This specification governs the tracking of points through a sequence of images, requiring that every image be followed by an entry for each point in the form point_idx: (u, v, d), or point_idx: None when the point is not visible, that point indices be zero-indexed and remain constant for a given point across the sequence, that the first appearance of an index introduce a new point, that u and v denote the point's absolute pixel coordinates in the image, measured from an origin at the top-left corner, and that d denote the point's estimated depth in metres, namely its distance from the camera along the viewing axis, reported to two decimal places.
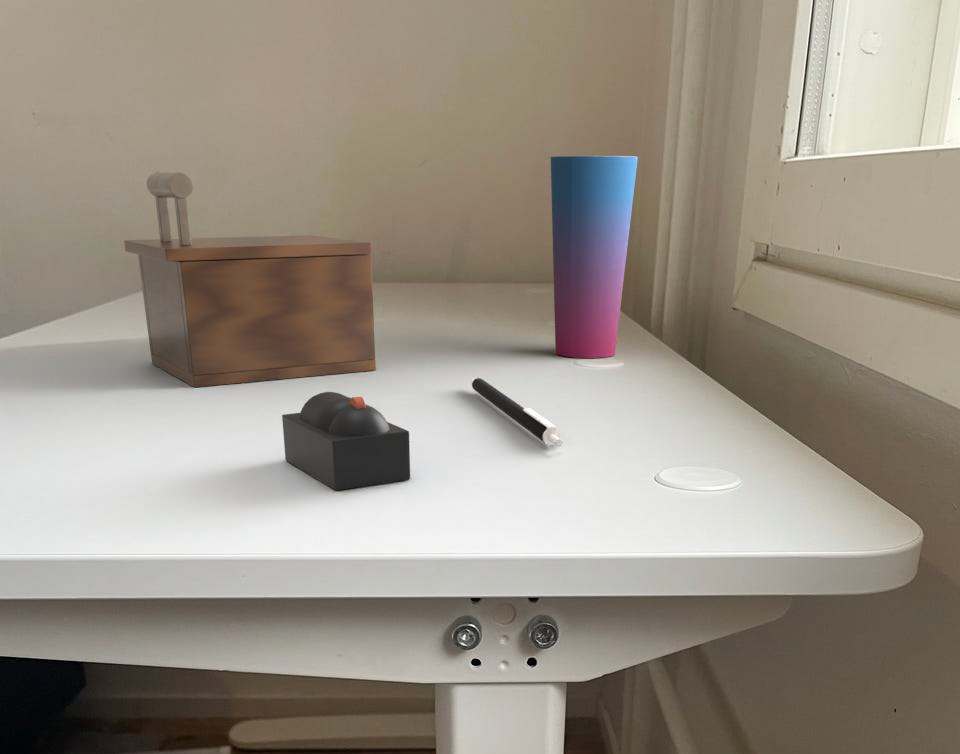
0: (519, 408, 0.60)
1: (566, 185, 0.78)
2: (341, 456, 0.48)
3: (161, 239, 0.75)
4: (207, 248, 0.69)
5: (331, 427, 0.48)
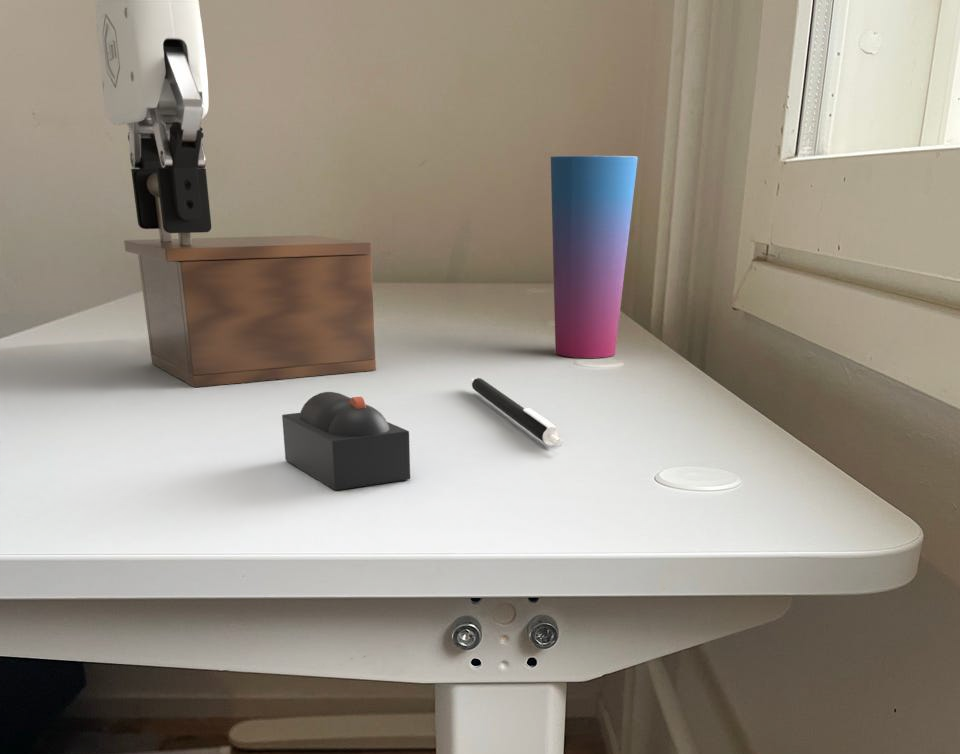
0: (519, 408, 0.60)
1: (566, 185, 0.78)
2: (341, 456, 0.48)
3: (161, 239, 0.75)
4: (207, 248, 0.69)
5: (331, 427, 0.48)
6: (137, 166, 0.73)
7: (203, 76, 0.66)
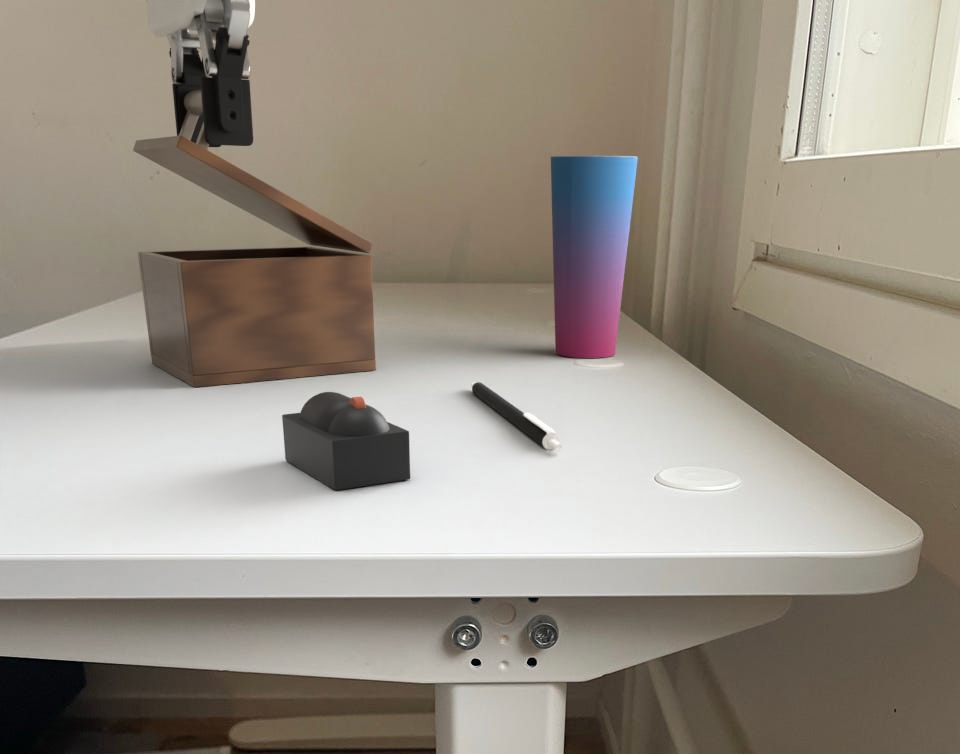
0: (519, 413, 0.61)
1: (566, 185, 0.78)
2: (341, 456, 0.48)
3: None
4: (220, 158, 0.67)
5: (331, 427, 0.48)
6: (178, 81, 0.73)
7: None
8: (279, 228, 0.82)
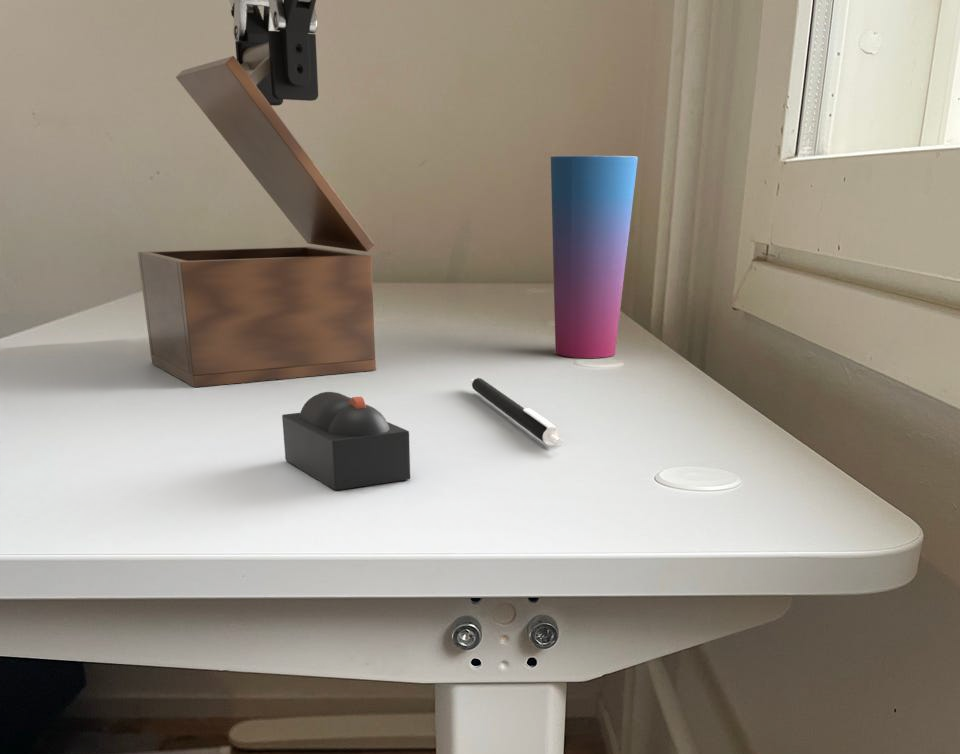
0: (519, 408, 0.60)
1: (566, 185, 0.78)
2: (341, 456, 0.48)
3: None
4: (262, 95, 0.67)
5: (331, 427, 0.48)
6: (241, 39, 0.74)
7: None
8: (286, 214, 0.81)
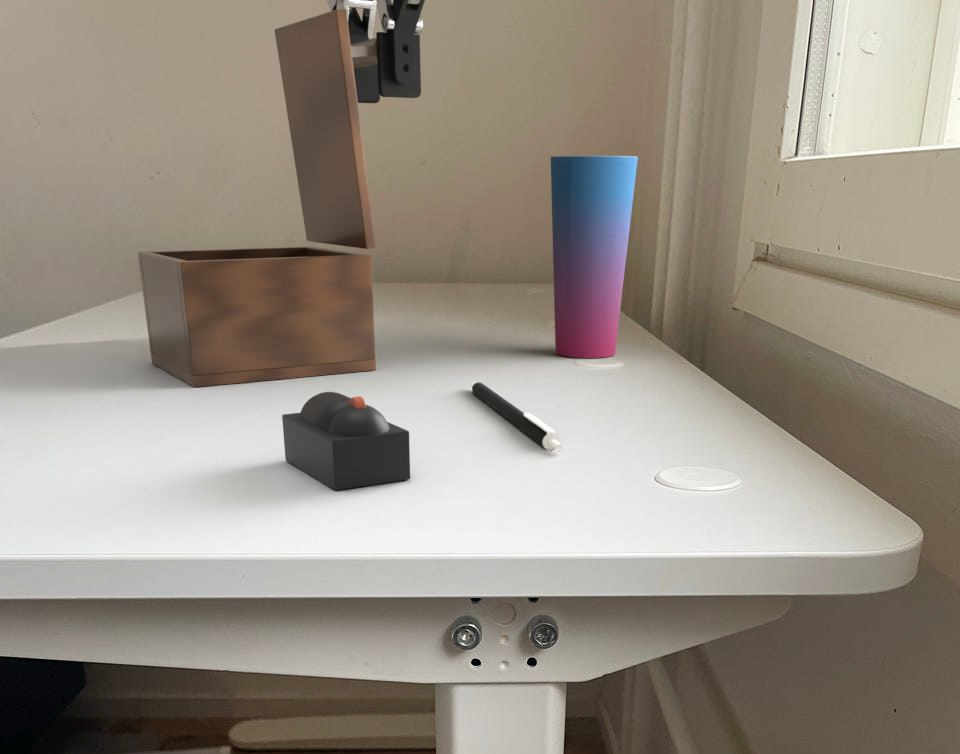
0: (519, 413, 0.61)
1: (566, 185, 0.78)
2: (341, 456, 0.48)
3: None
4: (351, 58, 0.69)
5: (331, 427, 0.48)
6: None
7: None
8: (302, 202, 0.82)
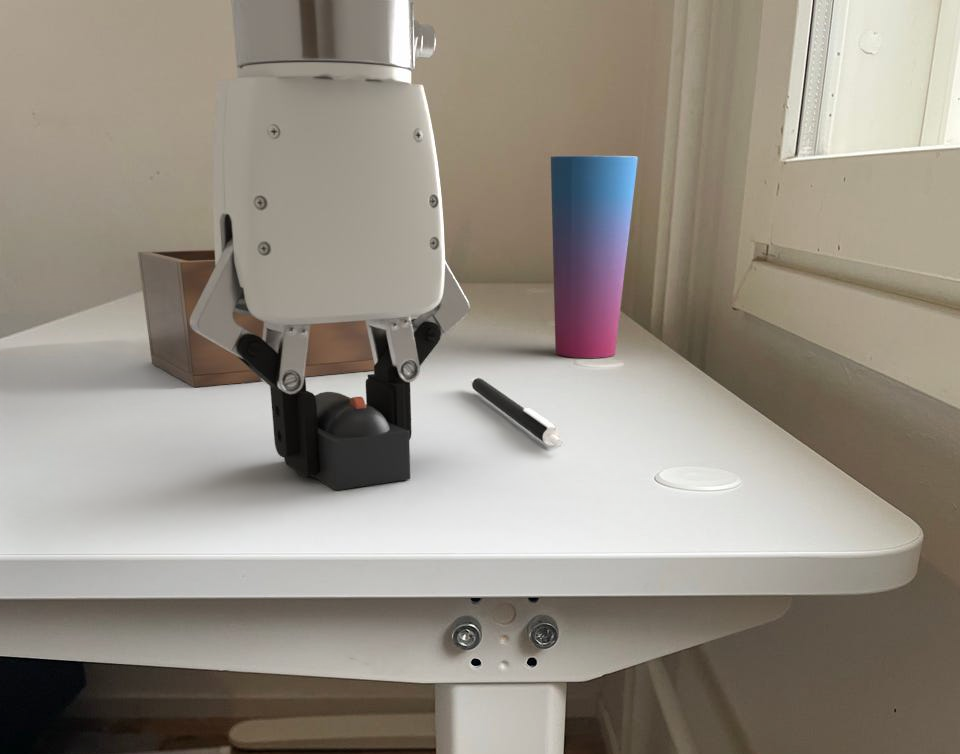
0: (519, 408, 0.60)
1: (566, 185, 0.78)
2: (341, 456, 0.48)
3: None
4: None
5: (331, 427, 0.48)
6: None
7: (245, 266, 0.44)
8: None
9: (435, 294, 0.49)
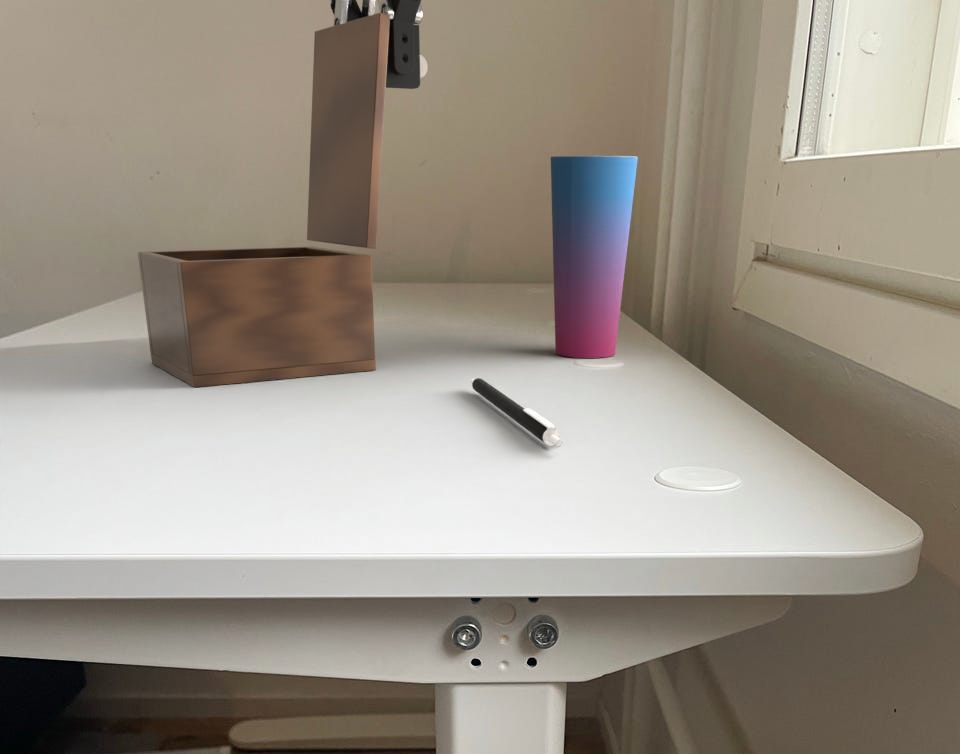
0: (519, 408, 0.60)
1: (566, 185, 0.78)
2: None
3: None
4: (386, 61, 0.70)
5: None
6: None
7: None
8: (310, 201, 0.82)
9: None
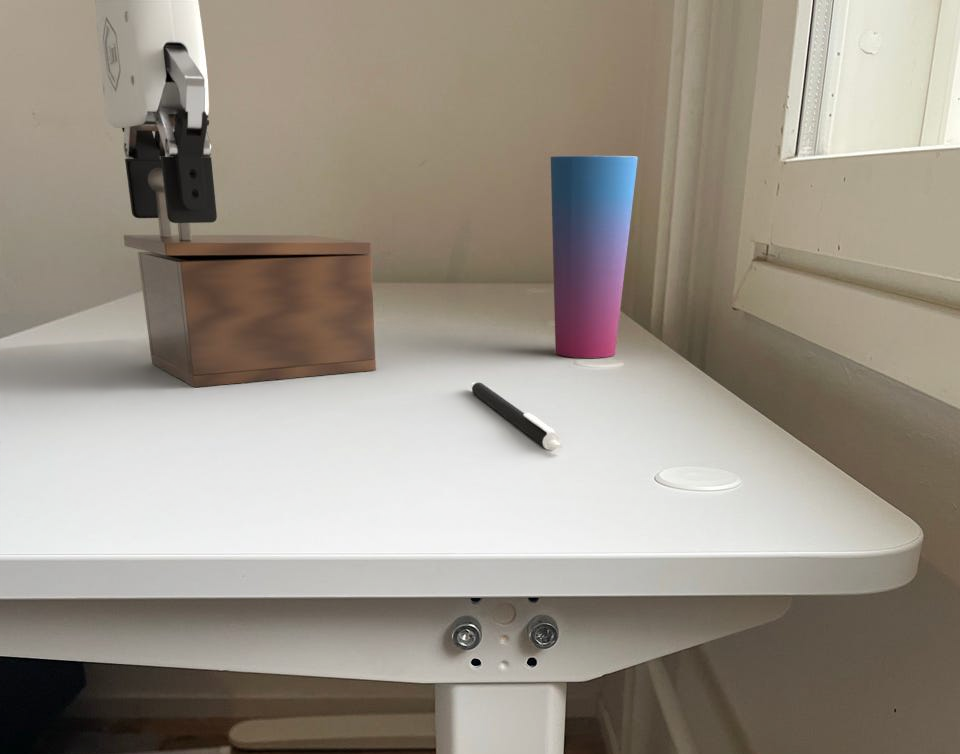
0: (519, 413, 0.61)
1: (566, 185, 0.78)
2: None
3: (161, 234, 0.75)
4: (207, 243, 0.69)
5: None
6: (130, 157, 0.74)
7: None
8: None
9: None
